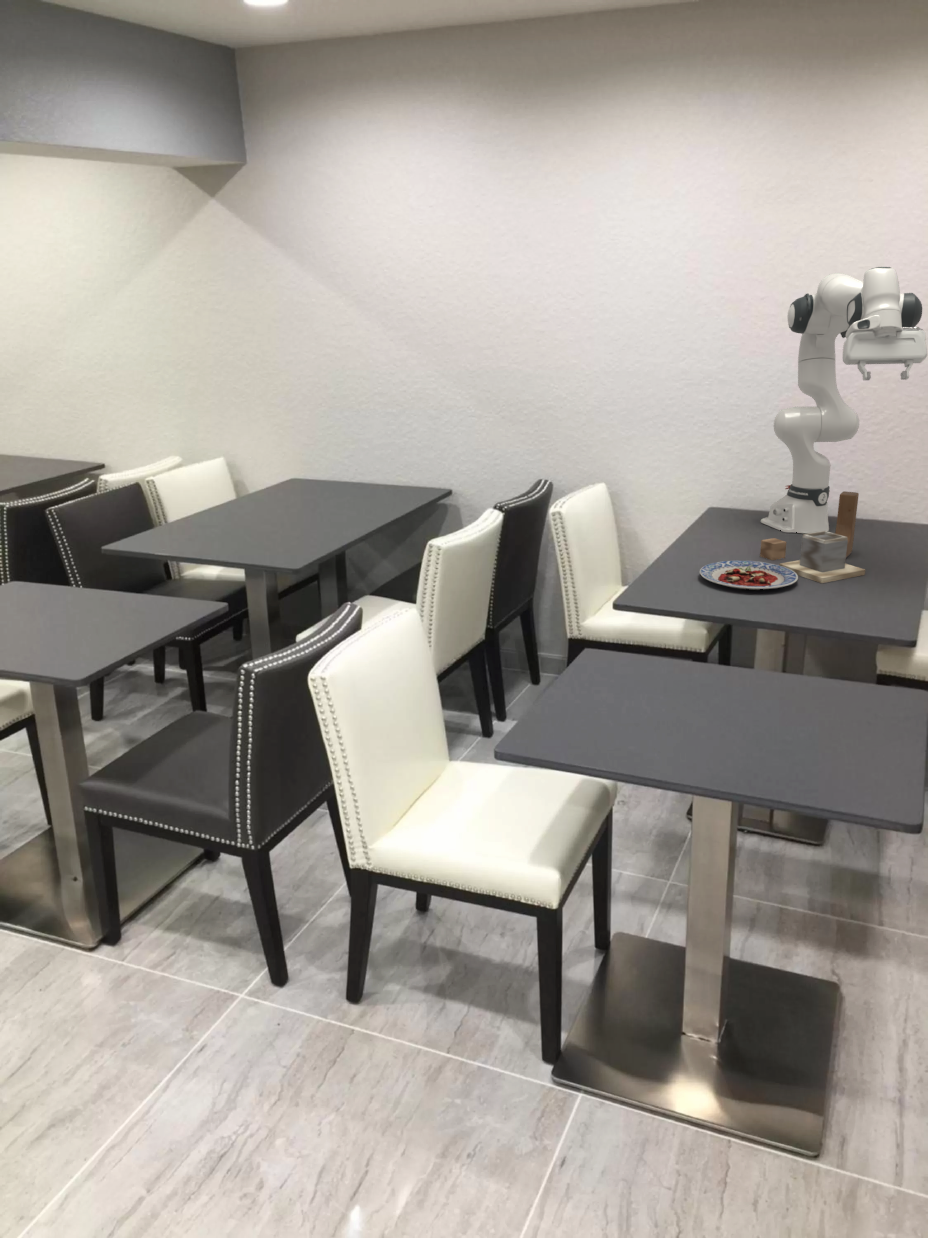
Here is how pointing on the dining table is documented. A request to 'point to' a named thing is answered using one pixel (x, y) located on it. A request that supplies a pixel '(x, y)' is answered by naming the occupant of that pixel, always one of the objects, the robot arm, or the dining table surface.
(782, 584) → the ceramic plate
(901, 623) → the dining table surface
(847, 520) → the wooden block
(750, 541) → the dining table surface
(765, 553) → the walnut cube
